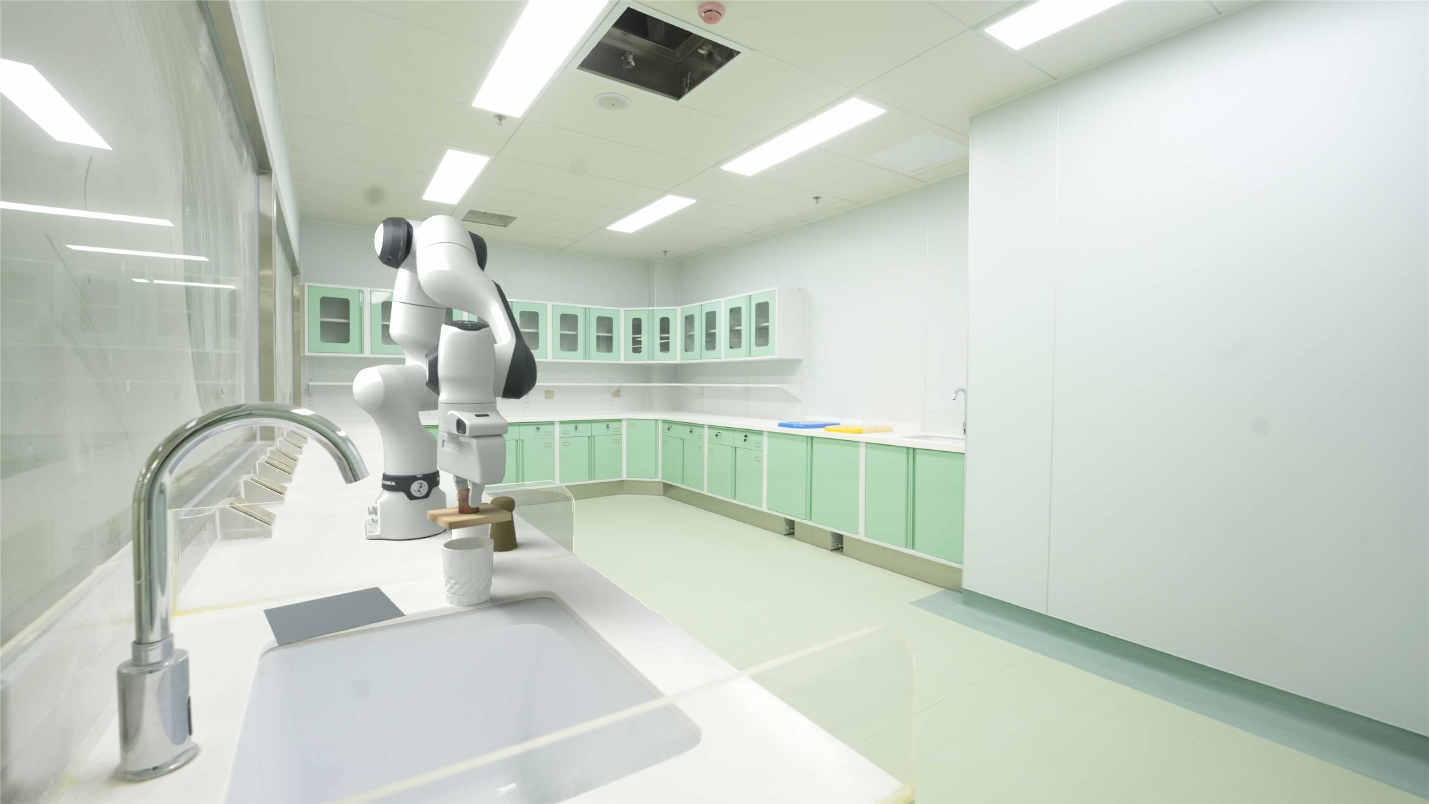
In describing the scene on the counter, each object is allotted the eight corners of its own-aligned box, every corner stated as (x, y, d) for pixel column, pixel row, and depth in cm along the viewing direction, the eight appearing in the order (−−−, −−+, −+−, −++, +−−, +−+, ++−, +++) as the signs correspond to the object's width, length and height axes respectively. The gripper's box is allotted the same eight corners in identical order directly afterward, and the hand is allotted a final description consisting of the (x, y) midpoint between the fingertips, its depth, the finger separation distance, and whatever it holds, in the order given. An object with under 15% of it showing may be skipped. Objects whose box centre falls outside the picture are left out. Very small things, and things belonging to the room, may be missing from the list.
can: (476, 578, 113) (475, 514, 113) (444, 575, 115) (444, 512, 114) (495, 567, 120) (495, 506, 119) (465, 564, 121) (465, 504, 120)
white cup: (502, 603, 102) (501, 543, 101) (453, 616, 96) (452, 553, 96) (482, 590, 108) (482, 533, 107) (435, 601, 102) (435, 542, 102)
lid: (426, 518, 102) (426, 489, 101) (486, 509, 108) (486, 482, 108) (448, 530, 94) (448, 499, 94) (511, 519, 101) (511, 490, 101)
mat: (263, 614, 96) (263, 609, 96) (377, 590, 106) (377, 586, 106) (279, 651, 84) (278, 645, 84) (405, 620, 95) (405, 614, 95)
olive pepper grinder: (493, 553, 128) (493, 501, 128) (483, 546, 133) (483, 496, 132) (521, 548, 132) (521, 497, 132) (511, 542, 137) (511, 493, 136)
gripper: (426, 416, 106) (427, 496, 107) (472, 425, 91) (473, 518, 92) (463, 415, 110) (464, 491, 111) (513, 423, 95) (514, 512, 96)
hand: (469, 504), depth 101 cm, fingers closed on lid, 3 cm apart
